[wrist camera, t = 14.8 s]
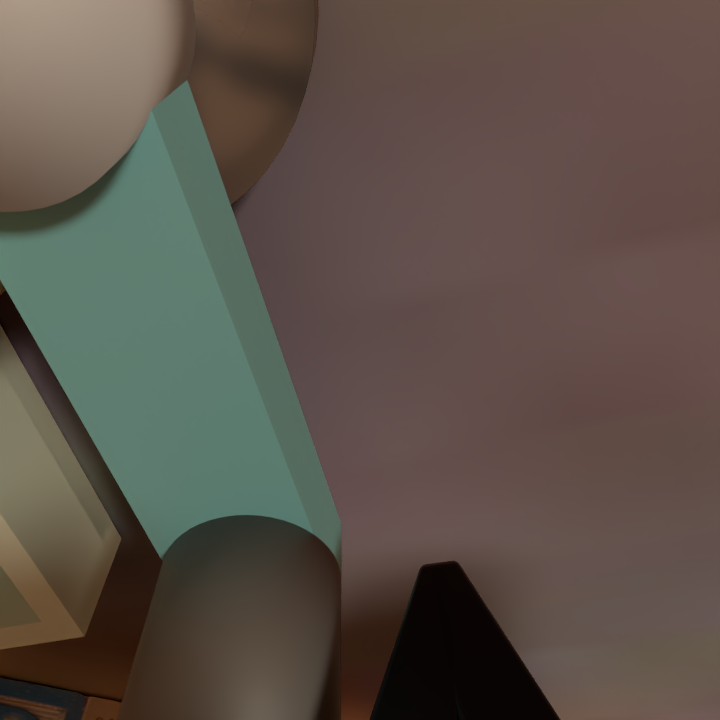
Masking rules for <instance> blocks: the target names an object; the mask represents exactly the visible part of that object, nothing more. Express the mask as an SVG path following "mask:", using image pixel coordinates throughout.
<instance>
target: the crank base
mask: <svg viewBox="0 0 720 720" xmlns="http://www.w3.org/2000/svg"><path fill="white" fill-rule="evenodd" d="M193 3H194V10H195V20H196V40H195V51H194V57H193V62H192V66H191V71H190V74H189V77H188V79H187V81H188V83H189V86H190V89H191V92H192V95H193V98H194V101H195V104H196V106H197V109H198V112H199V115H200V118H201V121H202V124H203V127H204V130H205V132H206V135H207V138H208V141H209V144H210V147H211V150H212V153H213V156H214V158H215V161H216V164H217V167H218V170H219V173H220V176H221V179H222V182H223V184H224V187H225V190H226V193H227V196H228V199H229V202H230V205H231V204H233V203H234V202H235V201H236V200H238V199H239V198H240V197H241V196H242V195H244V194H245V193H246V192H247V191H248V190H249V189H250V188H251V187H252V186H253V185H254V184H255V183H256V182H257V180H258V179H259V178H260V177H261V176H262V175H263V174H264V173H265V172H266V171H267V169H268V168H269V166H270V165H271V163H272V162H273V160H274V159H275V157H276V156H277V154H278V153H279V152H280V150H281V149H282V147H283V145H284V143H285V141H286V139H287V137H288V135H289V133H290V131H291V129H292V127H293V125H294V123H295V121H296V118H297V115H298V112H299V109H300V106H301V103H302V100H303V98H304V95H305V92H306V88H307V84H308V80H309V76H310V72H311V67H312V62H313V58H314V53H315V48H316V40H317V28H318V16H319V15H318V0H193ZM5 290H6V289H5V287H4V285H3V284H2V282H1V280H0V295H1V294H2V293H3V292H4V291H5Z"/></svg>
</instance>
